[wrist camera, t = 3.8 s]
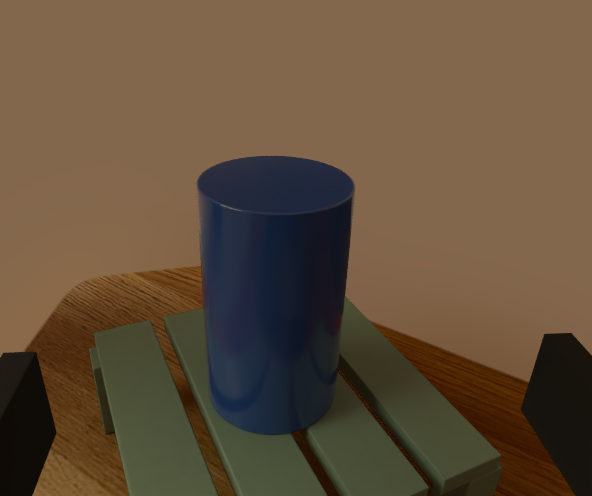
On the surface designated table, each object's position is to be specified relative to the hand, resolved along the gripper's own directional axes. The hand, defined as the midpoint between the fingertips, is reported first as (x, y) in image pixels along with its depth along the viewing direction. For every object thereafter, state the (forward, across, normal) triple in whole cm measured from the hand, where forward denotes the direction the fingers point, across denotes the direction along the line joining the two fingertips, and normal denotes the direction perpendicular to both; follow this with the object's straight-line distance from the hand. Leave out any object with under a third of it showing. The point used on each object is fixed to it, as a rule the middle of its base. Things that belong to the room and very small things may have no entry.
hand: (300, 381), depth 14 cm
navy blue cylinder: (+10, 0, -9) cm, 13 cm away
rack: (+10, 0, -15) cm, 18 cm away
